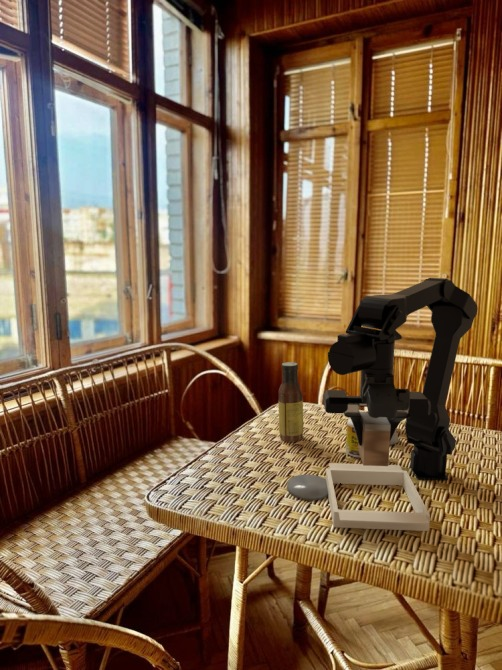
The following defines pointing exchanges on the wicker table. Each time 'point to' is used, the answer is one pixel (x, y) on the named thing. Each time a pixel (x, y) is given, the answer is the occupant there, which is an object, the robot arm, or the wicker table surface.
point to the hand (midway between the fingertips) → (373, 445)
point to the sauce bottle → (290, 405)
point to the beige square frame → (376, 518)
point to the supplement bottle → (352, 440)
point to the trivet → (308, 487)
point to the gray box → (374, 440)
